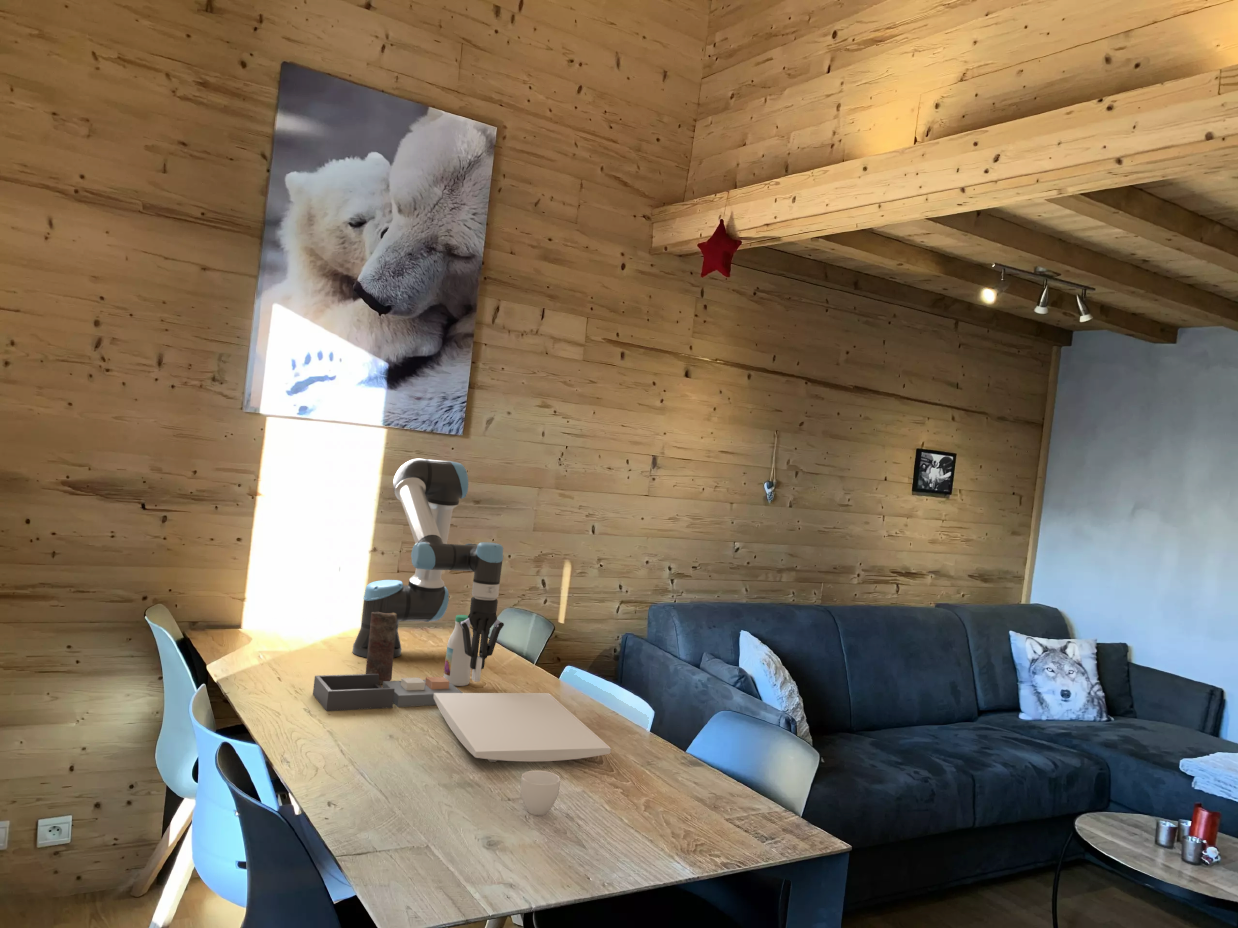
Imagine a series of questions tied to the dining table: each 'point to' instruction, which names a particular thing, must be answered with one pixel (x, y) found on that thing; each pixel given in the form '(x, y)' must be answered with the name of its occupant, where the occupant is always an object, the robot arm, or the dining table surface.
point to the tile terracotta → (437, 683)
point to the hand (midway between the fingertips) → (475, 679)
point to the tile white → (412, 683)
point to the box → (352, 692)
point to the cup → (539, 791)
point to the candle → (381, 645)
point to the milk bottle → (457, 656)
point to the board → (518, 727)
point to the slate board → (416, 694)
